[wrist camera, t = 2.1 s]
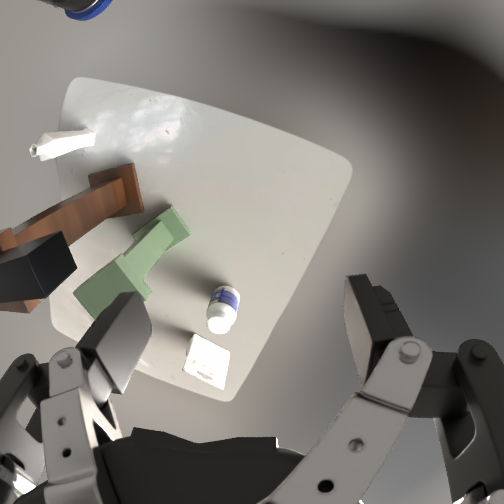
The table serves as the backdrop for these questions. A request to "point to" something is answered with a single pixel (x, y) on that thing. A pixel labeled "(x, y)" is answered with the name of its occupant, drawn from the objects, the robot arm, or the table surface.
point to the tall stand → (78, 215)
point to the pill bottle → (222, 309)
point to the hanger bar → (35, 268)
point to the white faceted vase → (61, 143)
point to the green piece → (132, 263)
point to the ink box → (207, 361)
